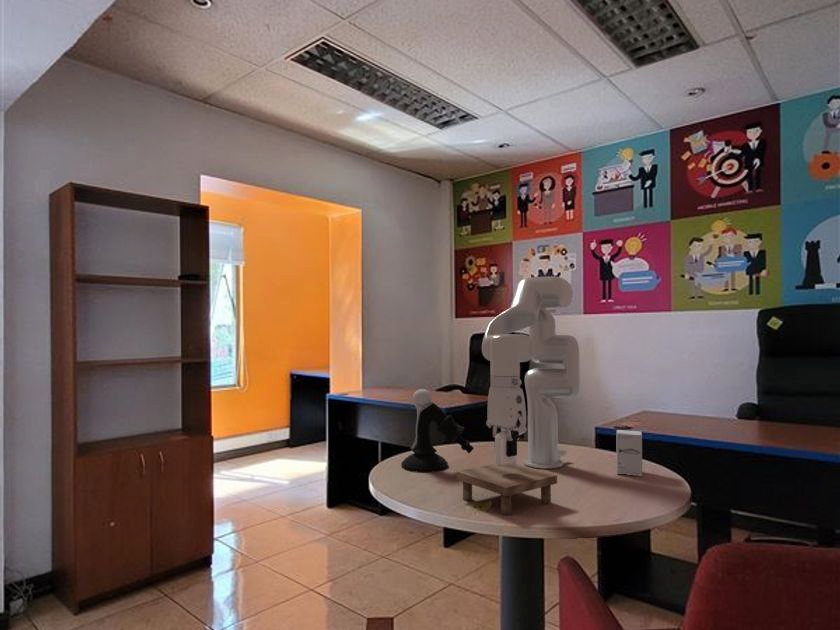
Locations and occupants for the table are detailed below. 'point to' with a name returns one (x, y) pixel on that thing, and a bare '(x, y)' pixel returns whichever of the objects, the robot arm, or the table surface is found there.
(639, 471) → the supplement box
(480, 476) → the walnut stool
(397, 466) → the table surface
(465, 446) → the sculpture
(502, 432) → the eye dropper bottle
